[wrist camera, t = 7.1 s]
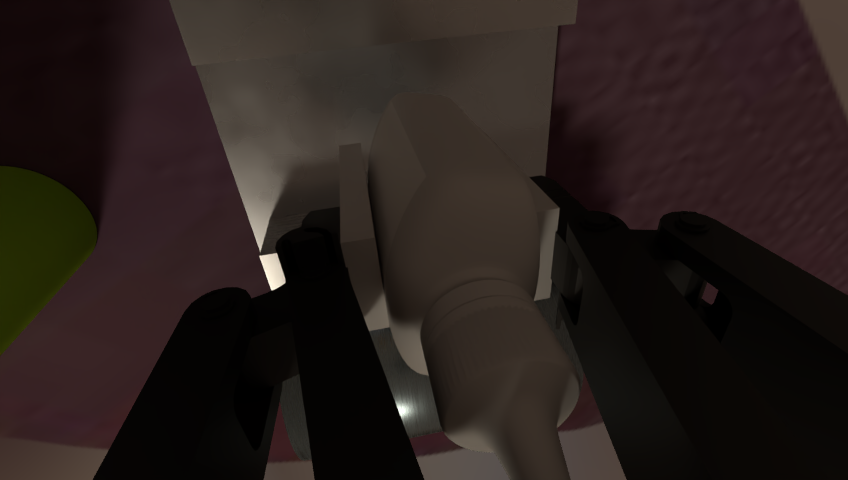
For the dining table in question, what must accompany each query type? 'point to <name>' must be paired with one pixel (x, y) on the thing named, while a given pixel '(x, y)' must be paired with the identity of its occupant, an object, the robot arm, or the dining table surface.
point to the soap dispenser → (37, 245)
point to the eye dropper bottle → (468, 284)
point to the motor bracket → (365, 115)
